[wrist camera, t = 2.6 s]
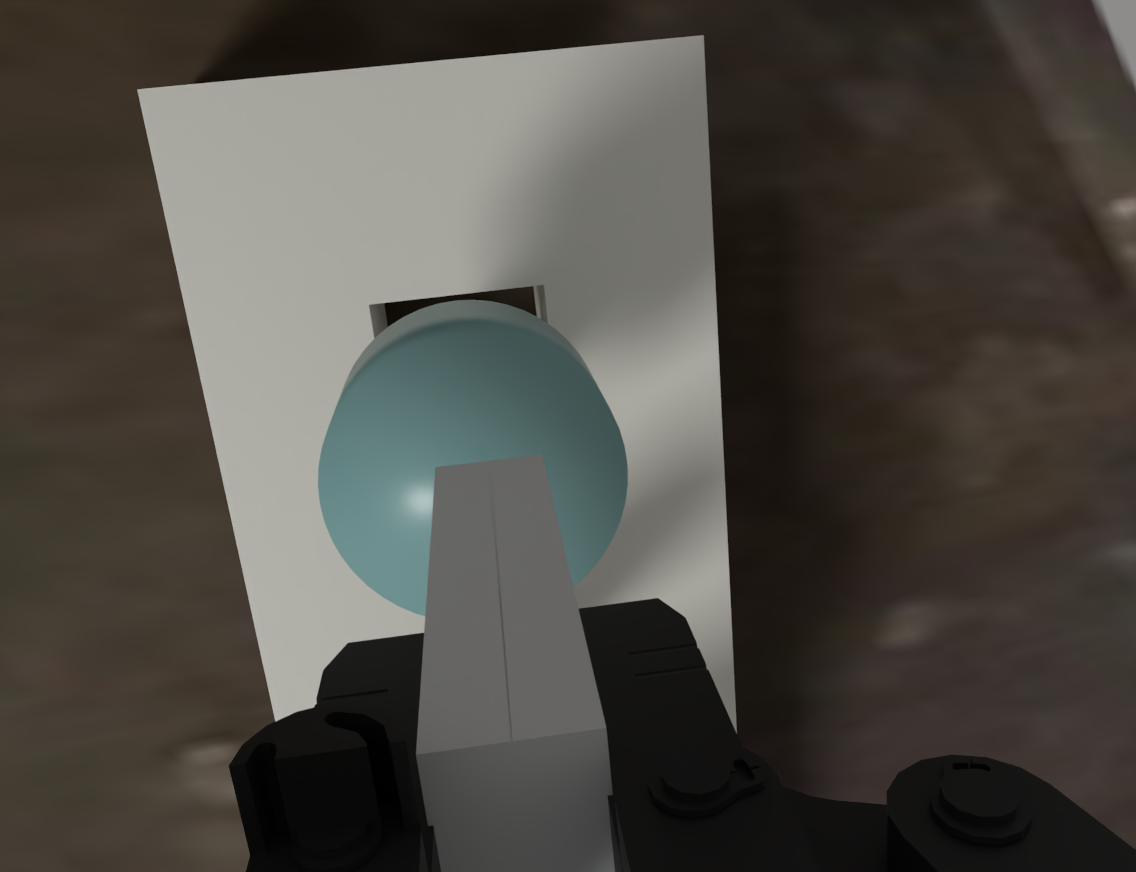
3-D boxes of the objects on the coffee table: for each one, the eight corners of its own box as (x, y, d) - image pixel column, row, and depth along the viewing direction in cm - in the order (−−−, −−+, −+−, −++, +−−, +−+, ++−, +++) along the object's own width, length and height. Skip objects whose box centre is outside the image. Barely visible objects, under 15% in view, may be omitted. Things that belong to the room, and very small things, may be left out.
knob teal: (373, 495, 24) (345, 642, 18) (337, 281, 23) (291, 353, 16) (587, 468, 25) (639, 601, 18) (567, 255, 23) (616, 315, 16)
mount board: (365, 975, 34) (354, 1085, 30) (185, 92, 25) (137, 89, 21) (717, 917, 35) (750, 1016, 31) (666, 45, 26) (703, 35, 22)
